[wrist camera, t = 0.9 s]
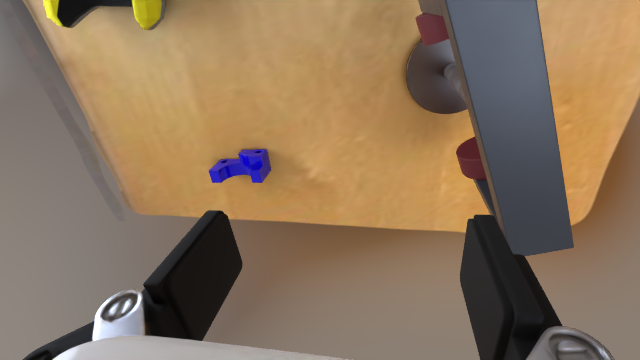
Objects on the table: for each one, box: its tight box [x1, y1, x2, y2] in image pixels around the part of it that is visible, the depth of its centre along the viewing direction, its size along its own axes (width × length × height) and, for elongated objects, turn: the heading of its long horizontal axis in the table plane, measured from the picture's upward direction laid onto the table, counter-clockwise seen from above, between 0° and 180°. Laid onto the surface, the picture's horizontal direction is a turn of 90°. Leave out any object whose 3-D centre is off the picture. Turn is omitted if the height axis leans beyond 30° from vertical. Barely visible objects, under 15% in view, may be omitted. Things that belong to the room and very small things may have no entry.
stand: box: [406, 38, 468, 114], centre depth 27 cm, size 10×10×20 cm
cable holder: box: [209, 149, 271, 183], centre depth 46 cm, size 8×4×4 cm, turn 96°
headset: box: [416, 0, 574, 256], centre depth 23 cm, size 5×17×14 cm, turn 26°
